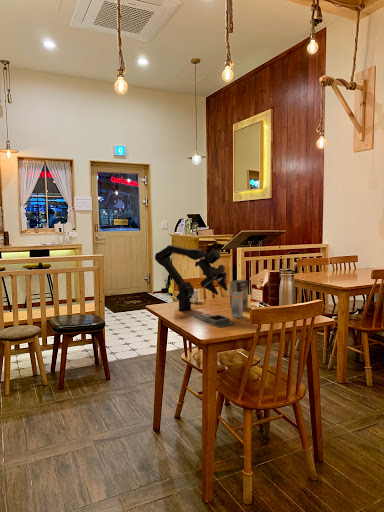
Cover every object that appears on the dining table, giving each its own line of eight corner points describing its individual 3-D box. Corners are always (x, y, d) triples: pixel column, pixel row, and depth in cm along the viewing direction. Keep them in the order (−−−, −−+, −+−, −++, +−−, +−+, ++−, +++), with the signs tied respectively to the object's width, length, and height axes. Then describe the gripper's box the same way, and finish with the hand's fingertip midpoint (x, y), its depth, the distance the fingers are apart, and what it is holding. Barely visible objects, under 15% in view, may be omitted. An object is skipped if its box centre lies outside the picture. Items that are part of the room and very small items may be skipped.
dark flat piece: (193, 316, 200) (193, 312, 200) (207, 314, 204) (207, 310, 204) (219, 327, 179) (219, 322, 179) (234, 324, 184) (234, 319, 184)
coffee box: (237, 310, 214) (237, 282, 213) (229, 308, 219) (229, 281, 218) (248, 307, 220) (248, 280, 219) (240, 305, 225) (240, 279, 224)
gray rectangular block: (231, 317, 198) (231, 293, 197) (235, 315, 202) (235, 291, 201) (239, 318, 196) (239, 293, 195) (243, 316, 200) (243, 292, 199)
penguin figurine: (197, 289, 232) (178, 291, 234) (198, 303, 233) (179, 304, 234) (198, 287, 238) (179, 289, 240) (199, 300, 239) (181, 302, 241)
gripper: (206, 263, 194) (222, 288, 191) (225, 257, 209) (241, 281, 205) (193, 274, 201) (208, 299, 197) (213, 268, 215) (227, 291, 212)
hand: (222, 292), depth 203 cm, fingers open, 9 cm apart
